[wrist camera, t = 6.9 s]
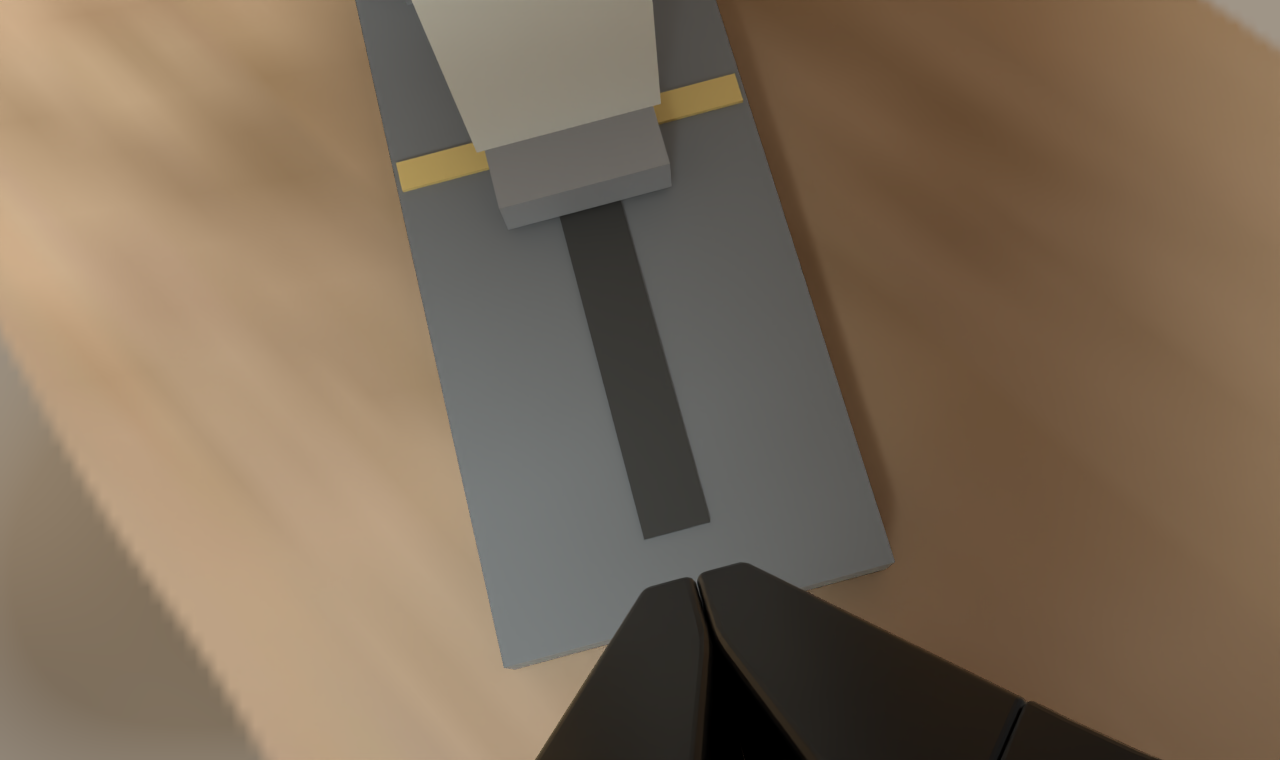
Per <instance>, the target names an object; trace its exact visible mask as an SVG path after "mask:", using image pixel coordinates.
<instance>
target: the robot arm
mask: <svg viewBox="0 0 1280 760" xmlns="http://www.w3.org/2000/svg"><path fill="white" fill-rule="evenodd" d="M697 585H698V588H697ZM698 589H699V591H698ZM699 593H700V594H699ZM700 597H701V598H700ZM702 604H703V605H702ZM743 755H744V756H743ZM744 759H745V760H1162V759H1159V758H1157V757H1154V756H1151V755H1149V754H1146V753H1144V752H1142V751H1139V750H1137V749H1135V748H1133V747H1130V746H1128V745H1126V744H1124V743H1122V742H1119V741H1117V740H1115V739H1113V738H1111V737H1108V736H1106V735H1104V734H1102V733H1100V732H1097V731H1095V730H1093V729H1091V728H1089V727H1086V726H1084V725H1082V724H1080V723H1078V722H1075V721H1073V720H1071V719H1069V718H1067V717H1065V716H1063V715H1061V714H1059V713H1057V712H1055V711H1053V710H1051V709H1049V708H1047V707H1045V706H1043V705H1041V704H1038V703H1036V702H1034V701H1029V702H1026V701H1025V699H1024V698H1022V697H1020V696H1018V695H1016V694H1014V693H1012V692H1010V691H1008V690H1006V689H1004V688H1002V687H1000V686H998V685H996V684H994V683H992V682H990V681H988V680H985V679H983V678H981V677H979V676H977V675H975V674H973V673H971V672H969V671H967V670H965V669H963V668H961V667H959V666H957V665H955V664H953V663H951V662H949V661H947V660H945V659H943V658H941V657H939V656H937V655H935V654H933V653H931V652H929V651H926V650H924V649H922V648H920V647H918V646H916V645H914V644H912V643H910V642H908V641H906V640H904V639H902V638H900V637H898V636H896V635H894V634H892V633H890V632H888V631H886V630H884V629H882V628H880V627H878V626H876V625H874V624H872V623H870V622H867V621H865V620H863V619H861V618H859V617H857V616H855V615H853V614H851V613H849V612H847V611H845V610H843V609H841V608H839V607H837V606H835V605H833V604H831V603H829V602H827V601H825V600H823V599H821V598H819V597H817V596H815V595H813V594H811V593H809V592H806V591H804V590H802V589H800V588H798V587H796V586H794V585H792V584H790V583H788V582H786V581H784V580H782V579H780V578H778V577H776V576H774V575H772V574H770V573H768V572H766V571H764V570H762V569H760V568H758V567H756V566H754V565H752V564H750V563H745V562H738V563H735V564H731V565H727V566H724V567H720V568H717V569H713V570H709V571H706V572H703V573H701V574H700V575H699V576H698V579H697V584H696V582H695V581H694V580H693V579H692V578H689V577H683V578H680V579H676V580H672V581H668V582H665V583H661V584H657V585H653V586H650V587H647V588H646V589H645V590H644V591H642V592H641V594H640V595H639V597H638V598H637V600H636V602H635V603H634V605H633V606H632V608H631V609H630V611H629V613H628V614H627V616H626V617H625V619H624V621H623V622H622V624H621V625H620V627H619V628H618V630H617V632H616V633H615V635H614V636H613V638H612V639H611V641H610V643H609V644H608V646H607V647H606V649H605V650H604V652H603V654H602V655H601V657H600V658H599V660H598V662H597V663H596V665H595V666H594V668H593V669H592V671H591V673H590V674H589V676H588V677H587V679H586V680H585V682H584V684H583V685H582V687H581V688H580V690H579V691H578V693H577V695H576V696H575V698H574V699H573V701H572V703H571V704H570V706H569V707H568V709H567V710H566V712H565V714H564V715H563V717H562V718H561V720H560V721H559V723H558V725H557V726H556V728H555V729H554V731H553V732H552V734H551V736H550V737H549V739H548V740H547V742H546V743H545V745H544V747H543V748H542V750H541V751H540V753H539V755H538V756H537V758H536V759H535V760H744Z"/></svg>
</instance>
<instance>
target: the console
mask: <svg viewBox="0 0 1280 760" xmlns="http://www.w3.org/2000/svg"><path fill="white" fill-rule="evenodd" d="M355 1H356V6H357V10H358V15H359V19H360V24H361V28H362V33H363V37H364V42H365V46H366V51H367V55H368V60H369V64H370V69H371V73H372V78H373V82H374V87H375V91H376V96H377V100H378V105H379V109H380V114H381V118H382V123H383V127H384V132H385V136H386V141H387V145H388V150H389V154H390V158H391V163H392V167H393V172H394V176H395V181H396V185H397V190H398V194H399V199H400V203H401V208H402V212H403V217H404V221H405V226H406V230H407V235H408V239H409V244H410V248H411V253H412V257H413V262H414V266H415V271H416V275H417V280H418V284H419V289H420V293H421V298H422V302H423V307H424V311H425V316H426V320H427V325H428V329H429V334H430V338H431V342H432V347H433V351H434V356H435V360H436V365H437V369H438V374H439V378H440V383H441V387H442V392H443V396H444V401H445V405H446V410H447V414H448V419H449V423H450V428H451V432H452V437H453V441H454V446H455V450H456V455H457V459H458V464H459V468H460V473H461V477H462V482H463V486H464V491H465V495H466V500H467V504H468V509H469V513H470V518H471V522H472V526H473V531H474V535H475V540H476V544H477V549H478V553H479V558H480V562H481V567H482V571H483V576H484V580H485V585H486V589H487V594H488V598H489V603H490V607H491V612H492V616H493V621H494V625H495V630H496V634H497V639H498V643H499V648H500V652H501V657H502V661H503V666H504V668H509V669H518V668H522V667H526V666H529V665H533V664H537V663H541V662H544V661H548V660H552V659H555V658H559V657H563V656H566V655H570V654H574V653H578V652H581V651H585V650H589V649H592V648H596V647H600V646H603V645H607V644H609V643H610V641H611V639H612V638H613V636H614V635H615V633H616V632H617V630H618V628H619V627H620V625H621V624H622V622H623V621H624V619H625V617H626V616H627V614H628V613H629V611H630V609H631V608H632V606H633V605H634V603H635V602H636V600H637V598H638V597H639V595H640V594H641V592H642V591H644V590H645V589H646V588H647V587H650V586H653V585H657V584H661V583H665V582H668V581H672V580H676V579H680V578H683V577H689V578H692V579H693V580H694V581H695V582H696V584H697V579H698V576H699V575H700V574H701V573H703V572H706V571H709V570H713V569H717V568H720V567H724V566H727V565H731V564H735V563H738V562H745V563H750V564H752V565H754V566H756V567H758V568H760V569H762V570H764V571H766V572H768V573H770V574H772V575H774V576H776V577H778V578H780V579H782V580H784V581H786V582H788V583H790V584H792V585H794V586H796V587H798V588H800V589H802V590H804V591H807V590H810V589H814V588H818V587H822V586H825V585H829V584H833V583H836V582H840V581H844V580H847V579H851V578H855V577H859V576H862V575H866V574H870V573H873V572H877V571H881V570H884V569H886V568H888V567H889V566H890V565H892V564H893V563H894V562H895V560H894V557H893V554H892V551H891V548H890V545H889V541H888V538H887V535H886V532H885V529H884V526H883V523H882V519H881V516H880V513H879V510H878V507H877V504H876V501H875V498H874V494H873V491H872V488H871V485H870V482H869V479H868V476H867V472H866V469H865V466H864V463H863V460H862V457H861V454H860V451H859V447H858V444H857V441H856V438H855V435H854V432H853V429H852V425H851V422H850V419H849V416H848V413H847V410H846V407H845V403H844V400H843V397H842V394H841V391H840V388H839V385H838V382H837V378H836V375H835V372H834V369H833V366H832V363H831V360H830V356H829V353H828V350H827V347H826V344H825V341H824V338H823V335H822V331H821V328H820V325H819V322H818V319H817V316H816V313H815V309H814V306H813V303H812V300H811V297H810V294H809V291H808V288H807V284H806V281H805V278H804V275H803V272H802V269H801V266H800V262H799V259H798V256H797V253H796V250H795V247H794V244H793V240H792V237H791V234H790V231H789V228H788V225H787V222H786V219H785V215H784V212H783V209H782V206H781V203H780V200H779V197H778V193H777V190H776V187H775V184H774V181H773V178H772V175H771V172H770V168H769V165H768V162H767V159H766V156H765V153H764V150H763V146H762V143H761V140H760V137H759V134H758V131H757V128H756V125H755V121H754V118H753V115H752V112H751V109H750V106H749V103H748V99H747V96H746V93H745V90H744V87H743V84H742V81H741V78H740V74H739V71H738V68H737V65H736V62H735V59H734V56H733V52H732V49H731V46H730V43H729V40H728V37H727V34H726V30H725V27H724V24H723V21H722V18H721V15H720V12H719V9H718V5H717V2H716V0H652V2H653V14H654V26H655V38H656V50H657V62H658V74H659V86H660V98H661V104H659V105H655V106H653V107H654V111H655V114H656V118H657V121H658V124H659V128H660V131H661V135H662V138H663V141H664V145H665V148H666V152H667V155H668V158H669V162H670V170H671V183H672V187H668V188H665V189H661V190H657V191H653V192H649V193H646V194H642V195H638V196H634V197H631V198H627V199H623V200H619V201H616V202H612V203H608V204H604V205H601V206H597V207H593V208H589V209H586V210H582V211H578V212H574V213H570V214H567V215H563V216H559V217H555V218H552V219H548V220H544V221H540V222H537V223H533V224H529V225H525V226H522V227H518V228H514V229H510V230H508V228H507V226H506V224H505V221H504V219H503V217H502V214H501V212H500V210H499V206H498V202H497V198H496V194H495V190H494V186H493V182H492V178H491V174H490V170H489V166H488V162H487V158H486V154H485V151H481V152H476V150H475V147H474V145H473V143H472V140H471V138H470V136H469V133H468V131H467V129H466V126H465V124H464V122H463V119H462V117H461V115H460V112H459V110H458V108H457V105H456V103H455V101H454V98H453V96H452V94H451V91H450V89H449V87H448V84H447V82H446V80H445V77H444V75H443V73H442V70H441V68H440V66H439V63H438V61H437V59H436V56H435V54H434V52H433V49H432V47H431V45H430V42H429V40H428V38H427V35H426V33H425V31H424V28H423V26H422V24H421V21H420V19H419V17H418V14H417V12H416V10H415V7H414V5H413V3H412V0H355ZM697 588H698V585H697ZM698 591H699V589H698ZM699 594H700V593H699ZM700 598H701V597H700ZM702 605H703V604H702Z"/></svg>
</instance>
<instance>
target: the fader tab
mask: <svg viewBox="0 0 1280 760" xmlns="http://www.w3.org/2000/svg"><path fill="white" fill-rule="evenodd" d="M412 3H413V5H414V7H415V10H416V12H417V14H418V17H419V19H420V21H421V24H422V26H423V28H424V31H425V33H426V35H427V38H428V40H429V42H430V45H431V47H432V49H433V52H434V54H435V56H436V59H437V61H438V63H439V66H440V68H441V70H442V73H443V75H444V77H445V80H446V82H447V84H448V87H449V89H450V91H451V94H452V96H453V98H454V101H455V103H456V105H457V108H458V110H459V112H460V115H461V117H462V119H463V122H464V124H465V126H466V129H467V131H468V133H469V136H470V138H471V140H472V143H473V145H474V147H475V150H476V152H481V151H485V154H486V158H487V162H488V166H489V170H490V174H491V178H492V182H493V186H494V190H495V194H496V198H497V202H498V206H499V210H500V212H501V214H502V217H503V219H504V221H505V224H506V226H507V228H508V230H510V229H514V228H518V227H522V226H525V225H529V224H533V223H537V222H540V221H544V220H548V219H552V218H555V217H559V216H563V215H567V214H570V213H574V212H578V211H582V210H586V209H589V208H593V207H597V206H601V205H604V204H608V203H612V202H616V201H619V200H623V199H627V198H631V197H634V196H638V195H642V194H646V193H649V192H653V191H657V190H661V189H665V188H668V187H672V183H671V170H670V162H669V158H668V155H667V152H666V148H665V145H664V141H663V138H662V135H661V131H660V128H659V124H658V121H657V118H656V114H655V111H654V107H653V106H655V105H659V104H661V98H660V86H659V74H658V62H657V50H656V38H655V26H654V14H653V2H652V0H412Z"/></svg>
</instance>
